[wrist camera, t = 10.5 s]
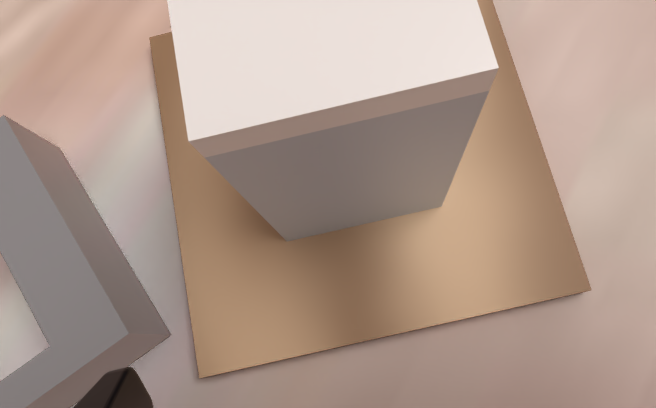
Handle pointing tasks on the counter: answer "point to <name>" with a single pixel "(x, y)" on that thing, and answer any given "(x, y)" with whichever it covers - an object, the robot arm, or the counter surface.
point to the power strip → (66, 277)
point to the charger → (332, 102)
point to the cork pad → (369, 242)
